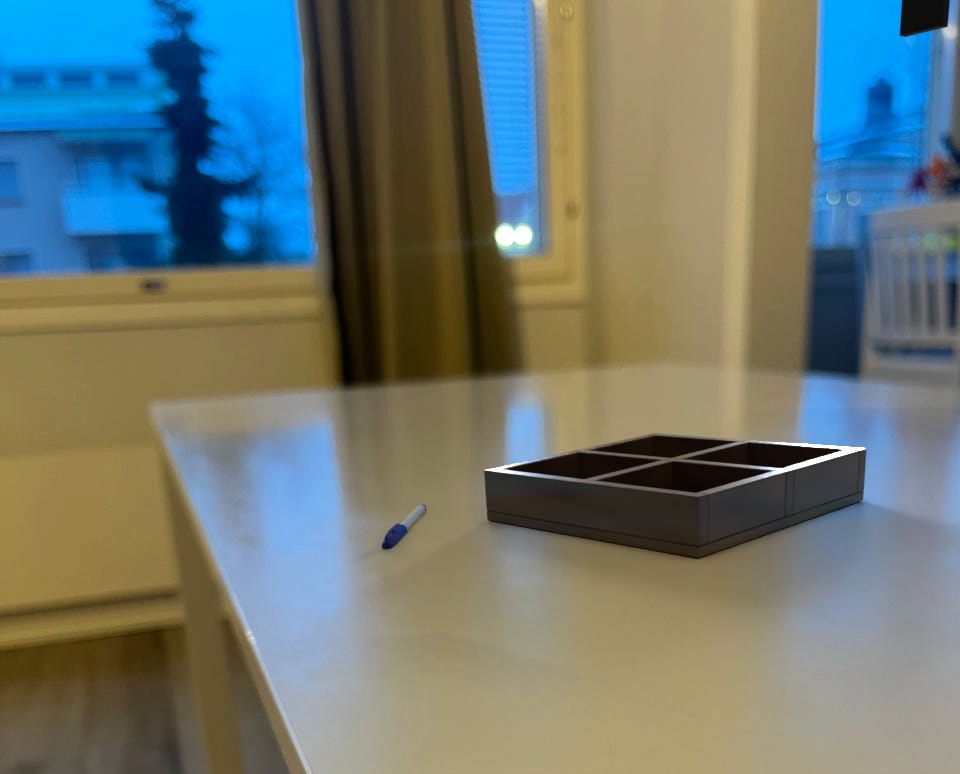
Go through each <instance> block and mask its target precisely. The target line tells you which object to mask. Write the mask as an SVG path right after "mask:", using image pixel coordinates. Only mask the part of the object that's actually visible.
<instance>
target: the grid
mask: <svg viewBox="0 0 960 774" xmlns="http://www.w3.org/2000/svg"><path fill="white" fill-rule="evenodd" d="M866 463H867V448H866V447H853V446H852V447H851V446H839V445H823V444H810V443H809V444H808V443H797V442H796V443H794V442H782V441H769V440H768V441H767V440H754V439H753V440H752V439H739V438H738V439H737V438H726V437H723V438H722V437H711V436H697V435H682V434H671V433H670V434H669V433H657V432H656V433H648V434H645V435H640V436H635V437H631V438H625V439H622V440H621V439H620V440H617V441H612V442H608V443H603V444H599V445H593V446H589V447H584V448H580V449H575V450H571V451H566V452H562V453H557V454H553V455H547V456H544V457H538V458H535V459H534V458H533V459H530V460H526V461H521V462H515V463H511V464H507V465H502V466H499V467H494V468H488V469H484V471H483V474H484V475H483V476H484V489H485V490H484V491H485V505H486V519H487V521H492V522H497V523H502V524H507V525H514V526H519V527H525V528H530V529H535V530H542V531H547V532H552V533H558V534H563V535H569V536H574V537H579V538H586V539H591V540H596V541H603V542H608V543H613V544H618V545H625V546H630V547H636V548H641V549H647V550H653V551H658V552H664V553H670V554H673V555H674V554H675V555H680V556H686V557H691V558H697V559H699V558H703V557H705V556H708V555H710V554H711V555H712V554H714V553H716V552H720V551H723V550H726V549H728V548H731V547H733V546H736V545H739V544H742V543H745V542H748V541H751V540H753V539H756V538H760V537H762V536H765V535H767V534H770V533H774V532H776V531H780V530H783V529H785V528H788V527H791V526H793V525H796V524H800V523H803V522H805V521H807V520H811V519H814V518H816V517H819V516H822V515H825V514H828V513H830V512H834V511H837V510H838V509H842V508H844V507H848V506H851V505H853V504H857V503H859V502H862V501H864V495H865V483H866V482H865V481H866V480H865V479H866V465H867V464H866Z"/></svg>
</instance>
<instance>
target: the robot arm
mask: <svg viewBox="0 0 960 774" xmlns="http://www.w3.org/2000/svg"><path fill="white" fill-rule="evenodd" d="M950 1H951V0H901V6H900V7H901V9H900V23H899V36H900V37H902V38H903V37H904V38H908V37H912V36H917V35H919V34H924V33H928V32H932V31H936V30H941V29H945V28H948V27H949V15H950V4H951V3H950Z"/></svg>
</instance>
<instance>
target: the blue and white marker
mask: <svg viewBox="0 0 960 774" xmlns="http://www.w3.org/2000/svg"><path fill="white" fill-rule="evenodd" d="M426 511H427V506H426V504H424V503H423V504H419V505H417V506H416V507H415V508H414V509H413V510H412V511H411V512H410V513H409V514H408V516H406V517H405V518H404V519H403V520H402V521H401V522H400V523H395V524H394V525H392V526H391V527H390V528H389V530H388V531H387V533H385V535H384V538H383V539H384V540H383V541H382V543H381V544H382V545H381V548H382V549H383V550H391V549H393V548H394V547H395V546H396V545H398V544H399V542H400V541H401V540H402V539H403V538H404V537H405V535H407V533H408V532H409V530H411V528H412V527H413V526H414V524H415V523H417V521H418V520H419V519H420V518H421V517H422V516H423V515H424V514H425V512H426ZM402 537H403V538H402Z"/></svg>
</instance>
